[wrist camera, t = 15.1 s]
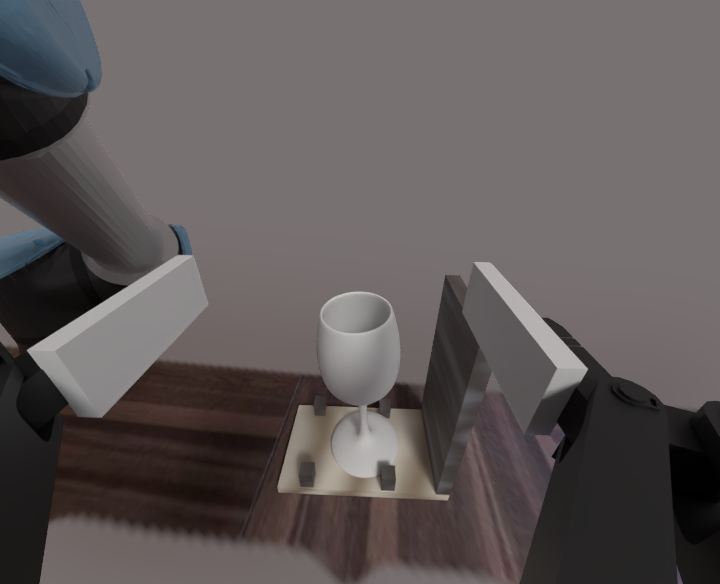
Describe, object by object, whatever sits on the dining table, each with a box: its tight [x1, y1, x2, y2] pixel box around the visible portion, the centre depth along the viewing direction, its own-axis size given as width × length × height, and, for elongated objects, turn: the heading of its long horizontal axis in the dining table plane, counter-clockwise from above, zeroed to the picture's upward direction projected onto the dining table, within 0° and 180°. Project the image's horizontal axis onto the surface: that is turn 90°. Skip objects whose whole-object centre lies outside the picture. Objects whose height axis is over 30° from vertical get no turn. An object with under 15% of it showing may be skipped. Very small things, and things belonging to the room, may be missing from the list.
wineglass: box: [317, 292, 400, 478], centre depth 30 cm, size 9×9×21 cm
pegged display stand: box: [277, 275, 492, 500], centre depth 31 cm, size 20×11×23 cm, turn 88°
